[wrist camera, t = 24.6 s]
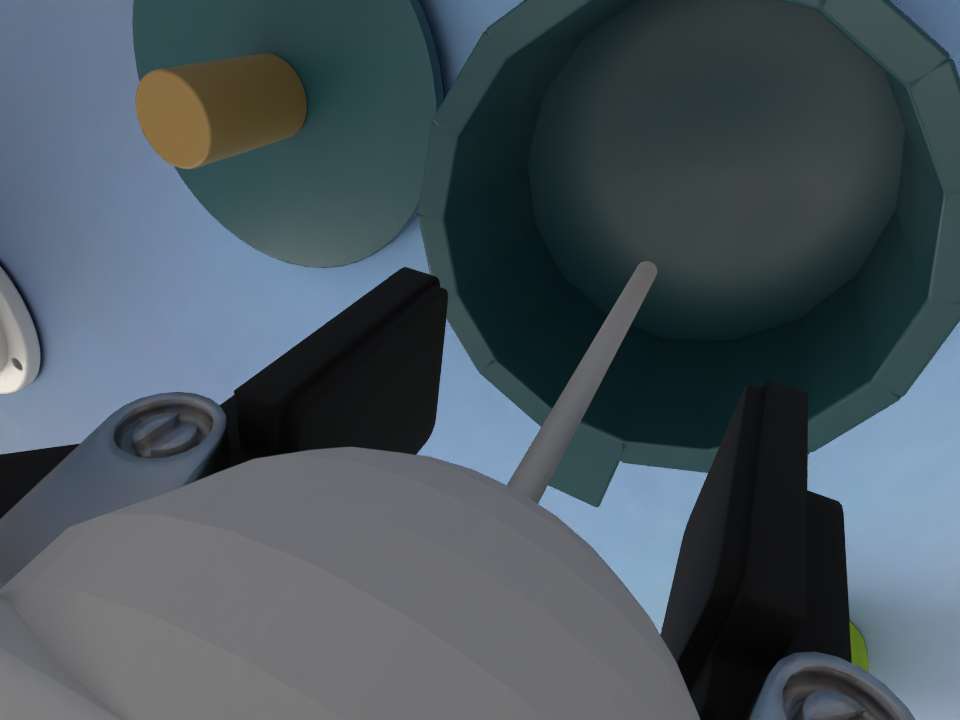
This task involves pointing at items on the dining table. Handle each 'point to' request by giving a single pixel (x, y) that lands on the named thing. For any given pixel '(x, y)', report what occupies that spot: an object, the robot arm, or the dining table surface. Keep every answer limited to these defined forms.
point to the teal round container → (698, 214)
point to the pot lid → (293, 116)
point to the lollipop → (358, 591)
